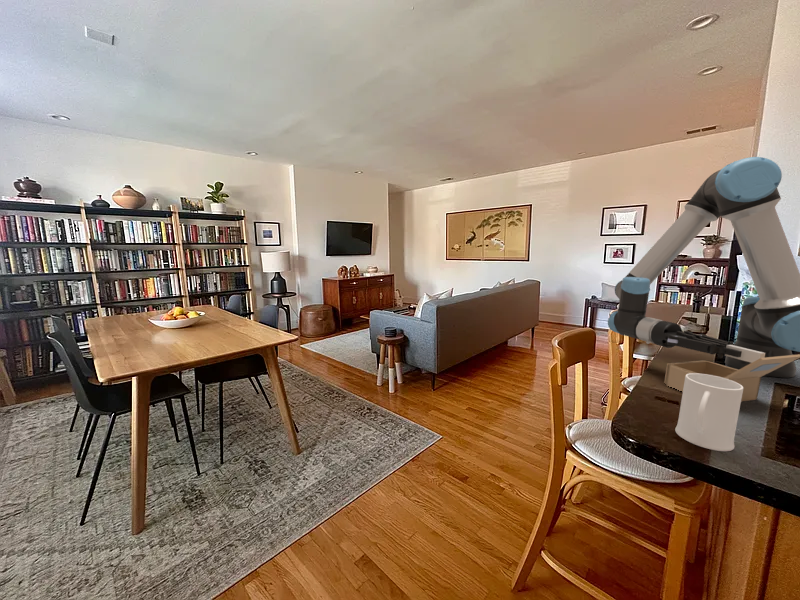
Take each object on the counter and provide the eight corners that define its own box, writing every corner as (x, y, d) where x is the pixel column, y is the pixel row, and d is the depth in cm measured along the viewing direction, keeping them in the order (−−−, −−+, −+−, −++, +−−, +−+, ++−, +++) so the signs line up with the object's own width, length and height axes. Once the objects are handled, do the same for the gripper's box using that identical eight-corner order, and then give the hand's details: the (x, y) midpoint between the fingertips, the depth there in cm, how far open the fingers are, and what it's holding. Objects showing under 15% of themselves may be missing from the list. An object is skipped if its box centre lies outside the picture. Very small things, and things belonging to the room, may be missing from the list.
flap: (759, 374, 80) (801, 354, 73) (762, 376, 80) (803, 356, 73) (721, 378, 77) (760, 357, 70) (723, 381, 77) (763, 360, 70)
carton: (701, 379, 94) (705, 359, 93) (758, 399, 82) (763, 376, 81) (660, 384, 90) (663, 363, 89) (714, 405, 78) (718, 381, 77)
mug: (720, 463, 56) (732, 398, 54) (661, 438, 63) (669, 380, 62) (740, 443, 62) (751, 384, 61) (684, 422, 70) (693, 369, 68)
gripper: (674, 343, 99) (778, 372, 77) (640, 345, 96) (738, 376, 74) (678, 319, 98) (785, 341, 76) (643, 320, 95) (744, 344, 72)
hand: (761, 358), depth 75 cm, fingers closed
